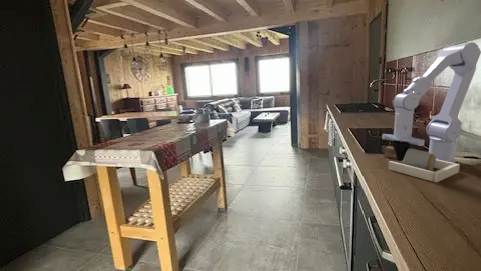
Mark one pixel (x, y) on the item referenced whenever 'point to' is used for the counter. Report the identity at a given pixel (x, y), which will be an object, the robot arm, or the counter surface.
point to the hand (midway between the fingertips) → (400, 160)
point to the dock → (437, 176)
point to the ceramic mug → (420, 159)
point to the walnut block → (390, 152)
